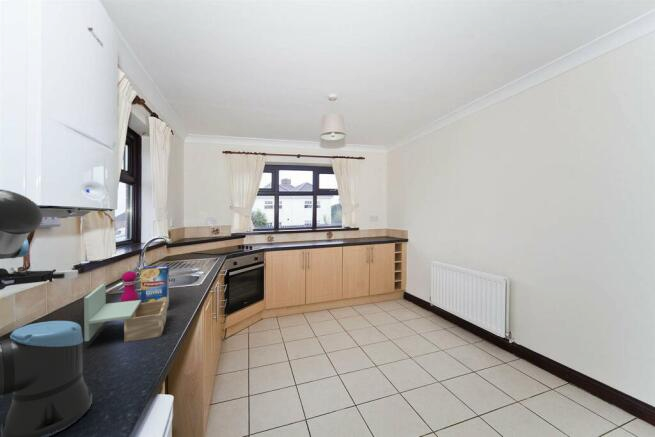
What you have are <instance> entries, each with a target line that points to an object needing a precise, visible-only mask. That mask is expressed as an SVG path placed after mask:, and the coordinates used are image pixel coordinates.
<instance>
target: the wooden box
mask: <svg viewBox="0 0 655 437" xmlns="http://www.w3.org/2000/svg"><path fill="white" fill-rule="evenodd" d="M166 321H167V311H166V300H163V301H154V302H146V303H140V305H139V306H138V308H137V309H136V311H135V312H134V314H133V316H132V317H131V318H128V319H123V333H124V334H123V340H124V342H123V343H130V342H135V341H141V340H146V339H153V338H159V337H162V335H163V332H164V329H165V325H166Z"/></svg>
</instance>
